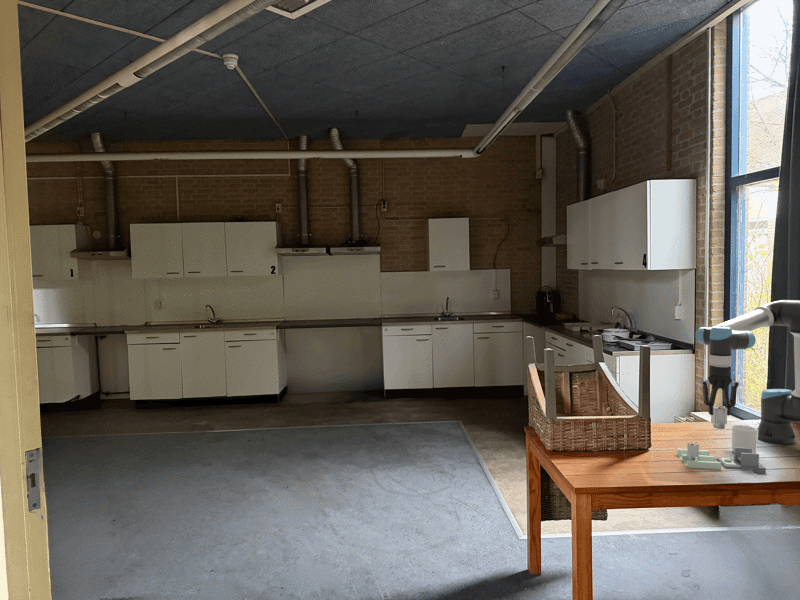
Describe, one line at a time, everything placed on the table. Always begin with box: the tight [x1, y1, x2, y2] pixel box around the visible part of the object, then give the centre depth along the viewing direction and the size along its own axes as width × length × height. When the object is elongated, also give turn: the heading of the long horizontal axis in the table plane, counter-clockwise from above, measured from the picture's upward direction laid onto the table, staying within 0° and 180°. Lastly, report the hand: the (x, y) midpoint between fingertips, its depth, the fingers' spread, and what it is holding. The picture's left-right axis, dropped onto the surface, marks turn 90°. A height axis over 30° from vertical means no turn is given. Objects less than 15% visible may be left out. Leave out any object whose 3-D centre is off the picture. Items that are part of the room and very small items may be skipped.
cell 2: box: [712, 405, 726, 430], centre depth 218 cm, size 4×4×9 cm
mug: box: [731, 424, 759, 453], centre depth 231 cm, size 12×9×11 cm
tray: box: [676, 448, 722, 470], centre depth 219 cm, size 12×15×4 cm
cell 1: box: [686, 442, 700, 461], centre depth 217 cm, size 4×4×9 cm
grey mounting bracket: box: [716, 447, 767, 474], centre depth 215 cm, size 14×10×7 cm
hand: (718, 422), depth 218 cm, fingers closed on cell 2, 3 cm apart
